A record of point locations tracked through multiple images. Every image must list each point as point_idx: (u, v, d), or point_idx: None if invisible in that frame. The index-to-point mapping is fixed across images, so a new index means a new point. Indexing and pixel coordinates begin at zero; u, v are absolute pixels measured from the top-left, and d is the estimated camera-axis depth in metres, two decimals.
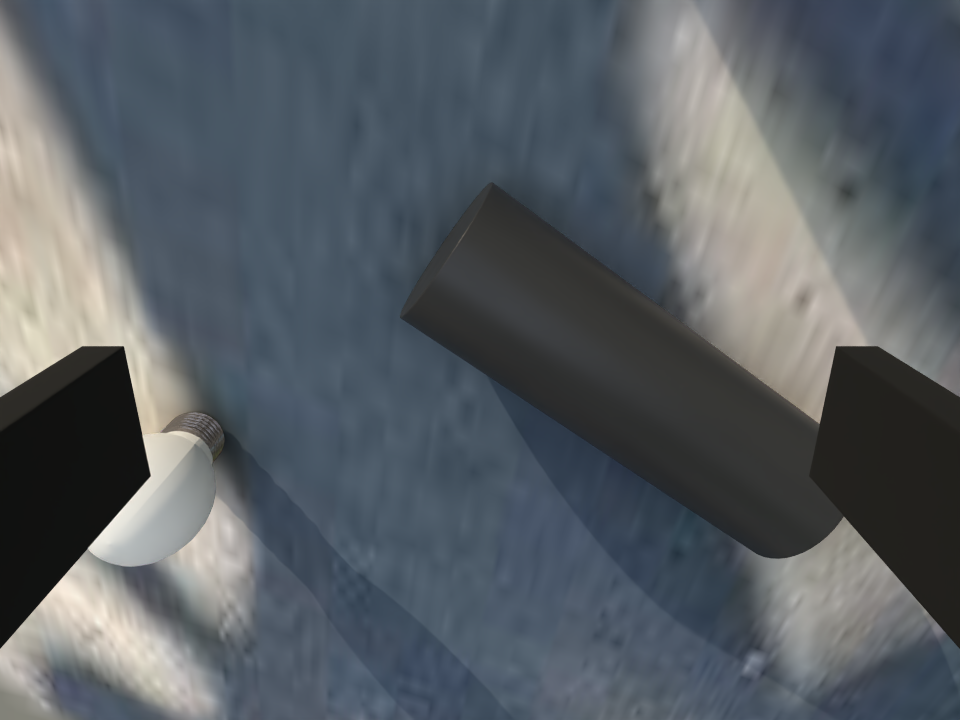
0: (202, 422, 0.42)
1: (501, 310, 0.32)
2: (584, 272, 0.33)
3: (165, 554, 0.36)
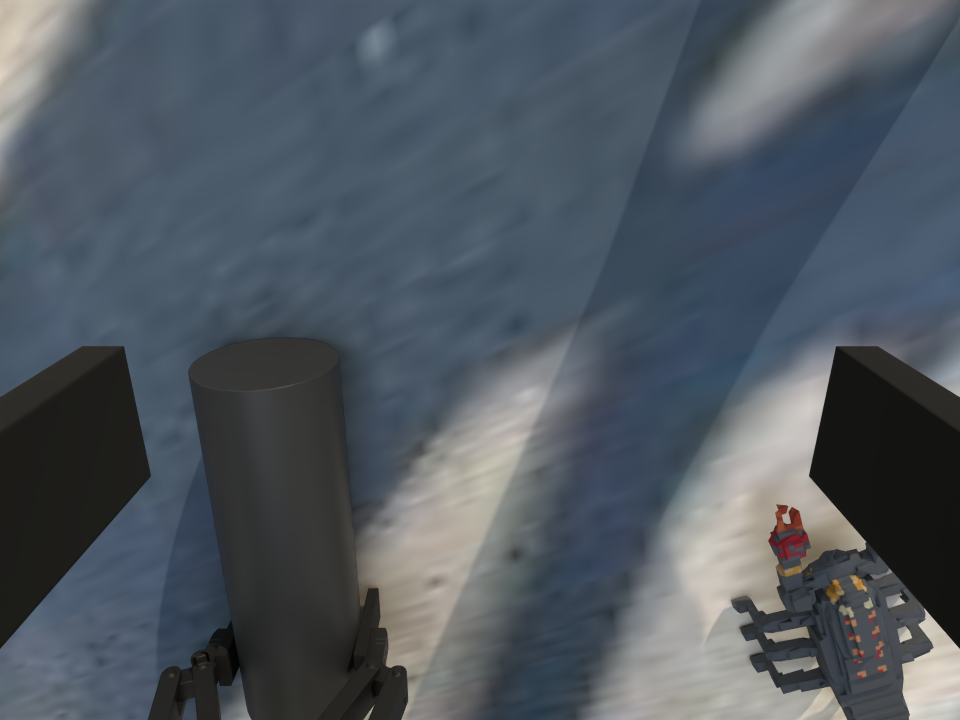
0: None
1: (250, 449, 0.37)
2: (326, 471, 0.40)
3: None
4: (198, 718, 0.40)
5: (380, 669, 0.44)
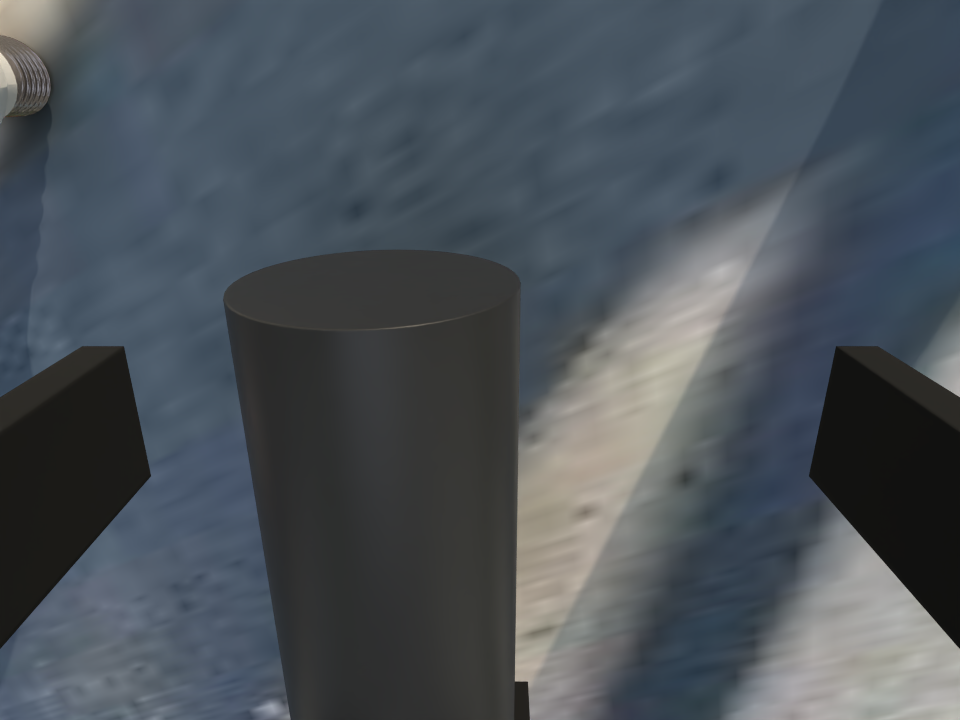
0: (36, 74, 0.32)
1: (358, 459, 0.17)
2: (497, 502, 0.20)
3: None
4: None
5: None
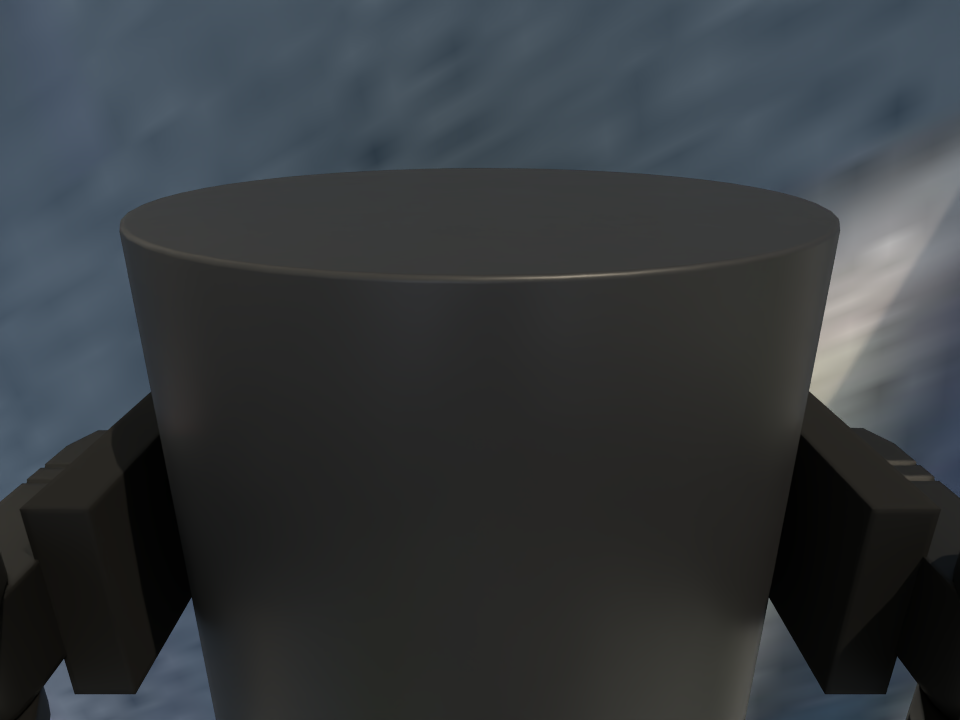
0: None
1: (484, 653, 0.06)
2: (749, 689, 0.09)
3: None
4: None
5: None
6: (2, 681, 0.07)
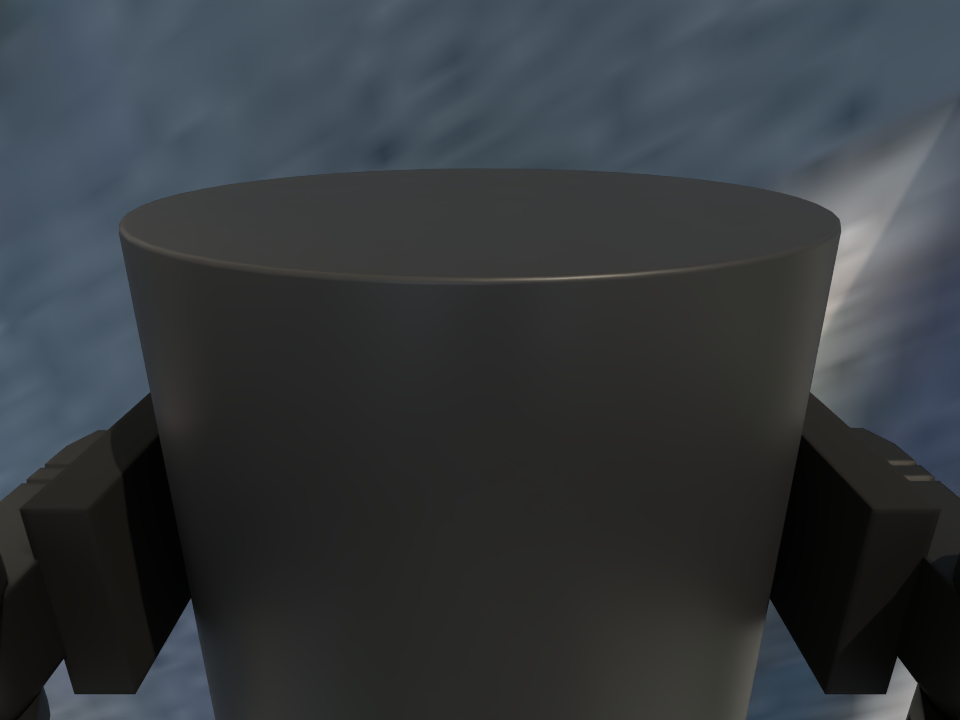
0: None
1: (484, 655, 0.06)
2: (749, 690, 0.09)
3: None
4: None
5: None
6: (2, 681, 0.07)
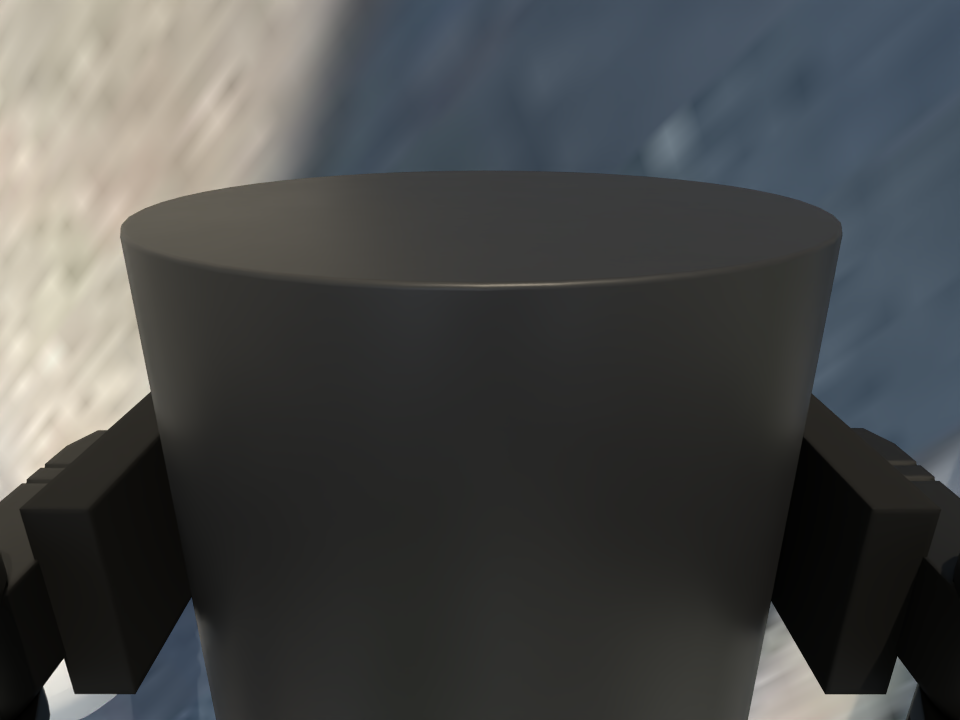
0: None
1: (486, 659, 0.06)
2: (751, 693, 0.09)
3: None
4: None
5: None
6: (2, 681, 0.07)
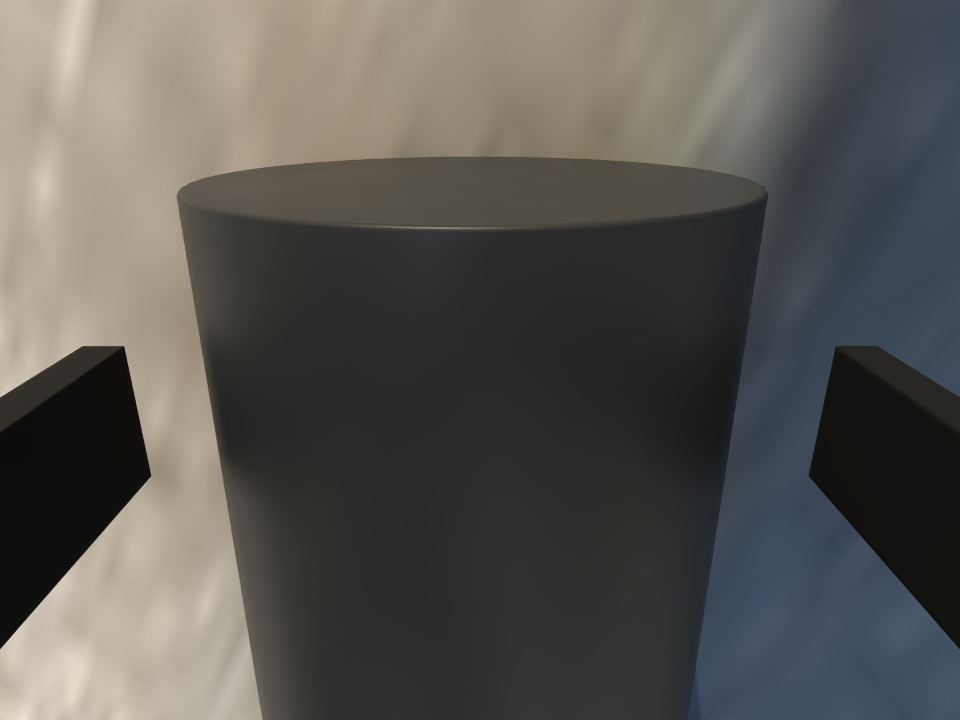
0: None
1: (475, 533, 0.08)
2: (701, 594, 0.10)
3: None
4: None
5: None
6: None
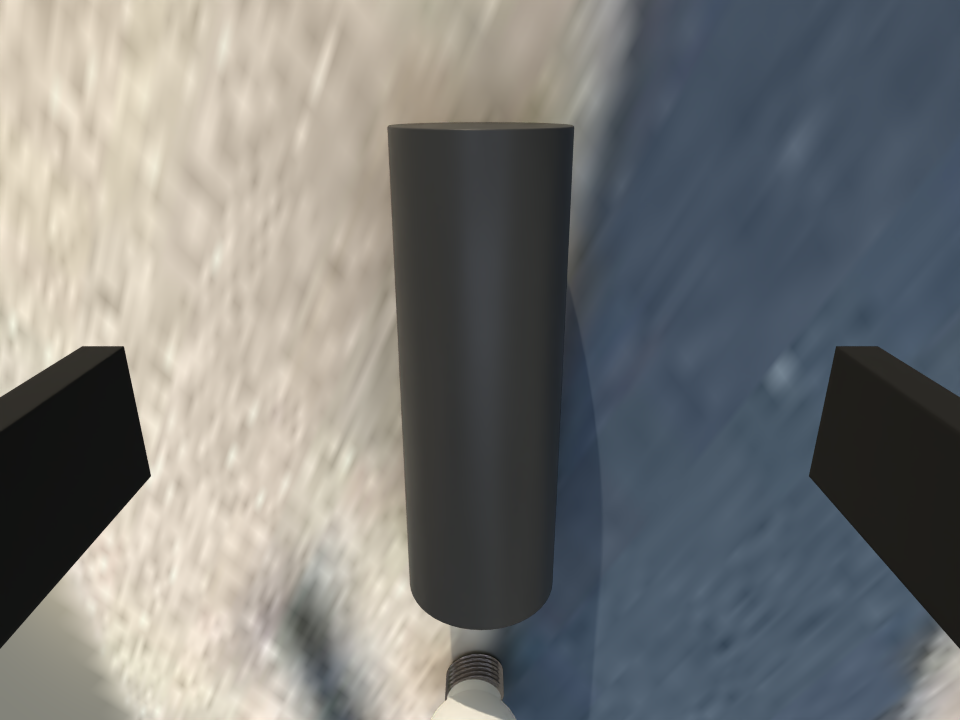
0: (498, 672, 0.47)
1: (481, 217, 0.28)
2: (558, 267, 0.31)
3: None
4: None
5: None
6: None
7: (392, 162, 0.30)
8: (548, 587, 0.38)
